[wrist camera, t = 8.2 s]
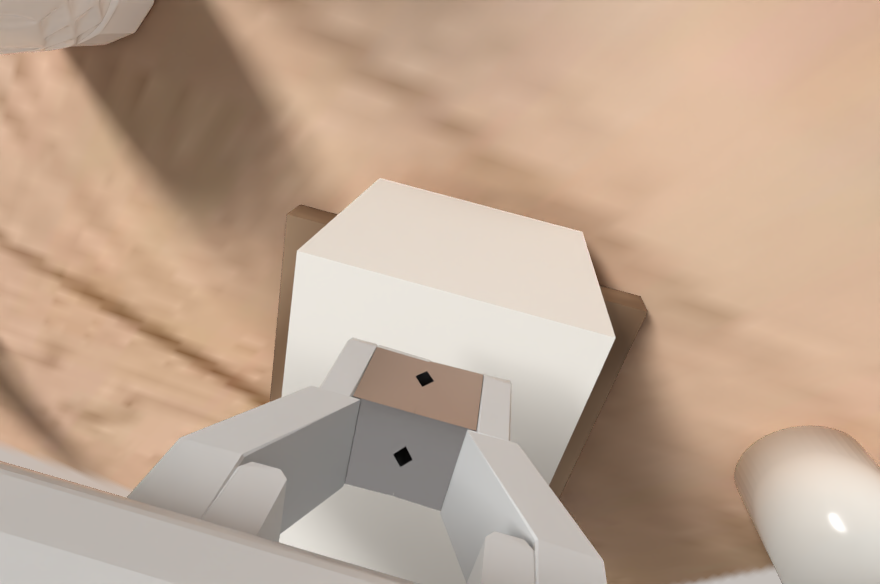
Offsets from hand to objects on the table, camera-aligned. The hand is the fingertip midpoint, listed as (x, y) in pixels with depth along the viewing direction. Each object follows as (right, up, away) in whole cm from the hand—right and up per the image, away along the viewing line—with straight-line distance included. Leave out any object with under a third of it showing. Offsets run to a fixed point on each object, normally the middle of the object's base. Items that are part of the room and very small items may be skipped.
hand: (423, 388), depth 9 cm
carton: (+1, +4, +7) cm, 8 cm away
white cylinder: (+18, -7, +16) cm, 26 cm away
